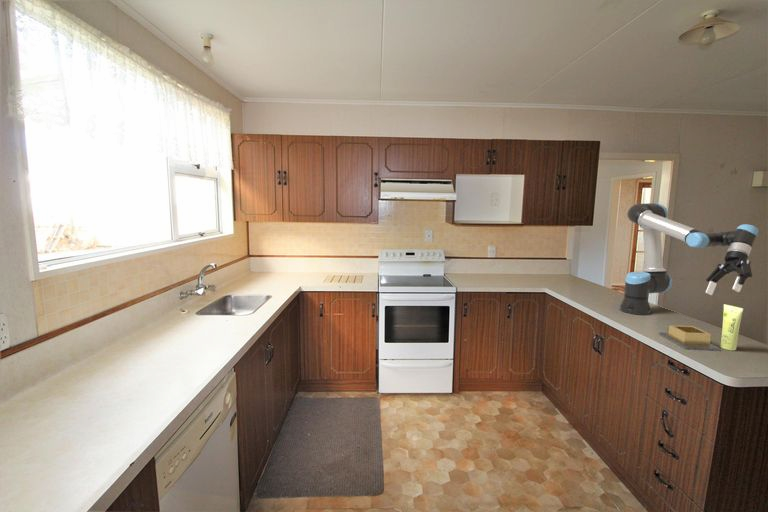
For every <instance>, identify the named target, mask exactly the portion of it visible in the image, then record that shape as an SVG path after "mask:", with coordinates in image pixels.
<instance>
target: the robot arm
mask: <svg viewBox="0 0 768 512" xmlns="http://www.w3.org/2000/svg"><path fill="white" fill-rule="evenodd" d="M668 214H669V213H668V209H667V207H665V206H664V205H663V204H662V203H655V202H653V203H651V202H650V203H648V202H647V203H636V204H633V205H632V206H630V207H629V209H628V210H627V218H628V219H629V221H630V222H632V223H634V224H635V225H639V228H640V229H641V230H642V237H643V251H644V253H643V255H644V269H643V270H642V271H631V272H628V273H627V274H626V277H625V280H624V283H625V284H624V296H623V299H622V300H621V303H620V304H619V308H618V309H619V310H620V311H621V312H624V313H626V314H632V315H637V316H638V315H639V316H648V315H650V314H651V307H650V306H651V305H650V303H649V297H650V296H649V294H661V293H665V292H667V291H669V290H670V289H671V287H672V285H673V279H672V277H671V276H670V275H669V274H668V271H667V270H666V269H665V268H664V262H663V261H664V260H663V259H664V257H663V244H662V233H663V234H665V235H667V236H671V237H673V238H675V239H678V240H679V241H683V242H685V244H687V245H688V247H691V248H694V249H695V248H696V249H702V248H718V247H728V248H727V252H725V253H726V254H725V256H724V262H725V263H723V264H721V263H718V264H717V266H716V267H715V269H714V270H713V271H711V274H709V276H708V277H707V278H706V279H705V281H706V282H708V284H707V286H706V287H707V288H706V290H705V292H704V293H706V294H707V295H710V296H713V294H714V292H715V289H716V287H717V284H718V282H719V281H720V280H721V279H722V278H724V276H725V275H728V274H730V273H732V272H736V273H737V276H736V279H735V281H734V284H733V286H732V290H733V291H734V292H736V293H740V292H741V290H742V287H743V285H744V284H745V282H746V281H747V279H748V278H752V277H753V272H752V268H751V263H752V262H751V261H750V260H749V256H750V253H751V251H752V249H753V246H754V243H755V241H756V239H757V238H758V234H759V229H758V227H757V226H754V225H752V224H746V223H745V224H744V223H743V224H740V225H739V226H737V227H736V229H735V230H727V231H725V230H724V231H711V232H710V231H709V232H708V231H707V232H706V231H705V232H704V231H701V230H699V229H696V228H694V227H691V226H688V225H685V224H683V223H680V222H677V221H675V220H672V219H670V218H668V216H669V215H668Z"/></svg>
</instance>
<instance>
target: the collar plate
mask: <svg viewBox="0 0 768 512" xmlns="http://www.w3.org/2000/svg"><path fill="white" fill-rule="evenodd" d="M668 327H669V329H668V332H660V331H659V332H658V335H659V336H662V337H663V338H665V339H666V340H668V341H670V342H672V343H673V344H675V345H677V346H679V347H681V348H683V349H684V350H692V349H694V351H696V350H697V351H698V350H699V351H716V352H717V351H720V352H721V351H722V348H721V347H720V346H717V345H715V344H712V343H711V338H712V336H711V335H712V334H711V333H709V332H707V331H706V330H705V331H704V330H703V329H701V328H698V327H696V326H694V325H669V326H668Z"/></svg>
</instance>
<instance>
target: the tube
mask: <svg viewBox="0 0 768 512" xmlns="http://www.w3.org/2000/svg"><path fill="white" fill-rule="evenodd" d="M743 312H744V308H742V307H739V306H734V305H731V304H725V303H724V304H723V314H722V315H723V316H722V329H721V339H720V348H721V349H723V350H728V351H736V350H737V347H738V346H737V345H738V339H739V333H740V327H741V321H742V317H743Z"/></svg>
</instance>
